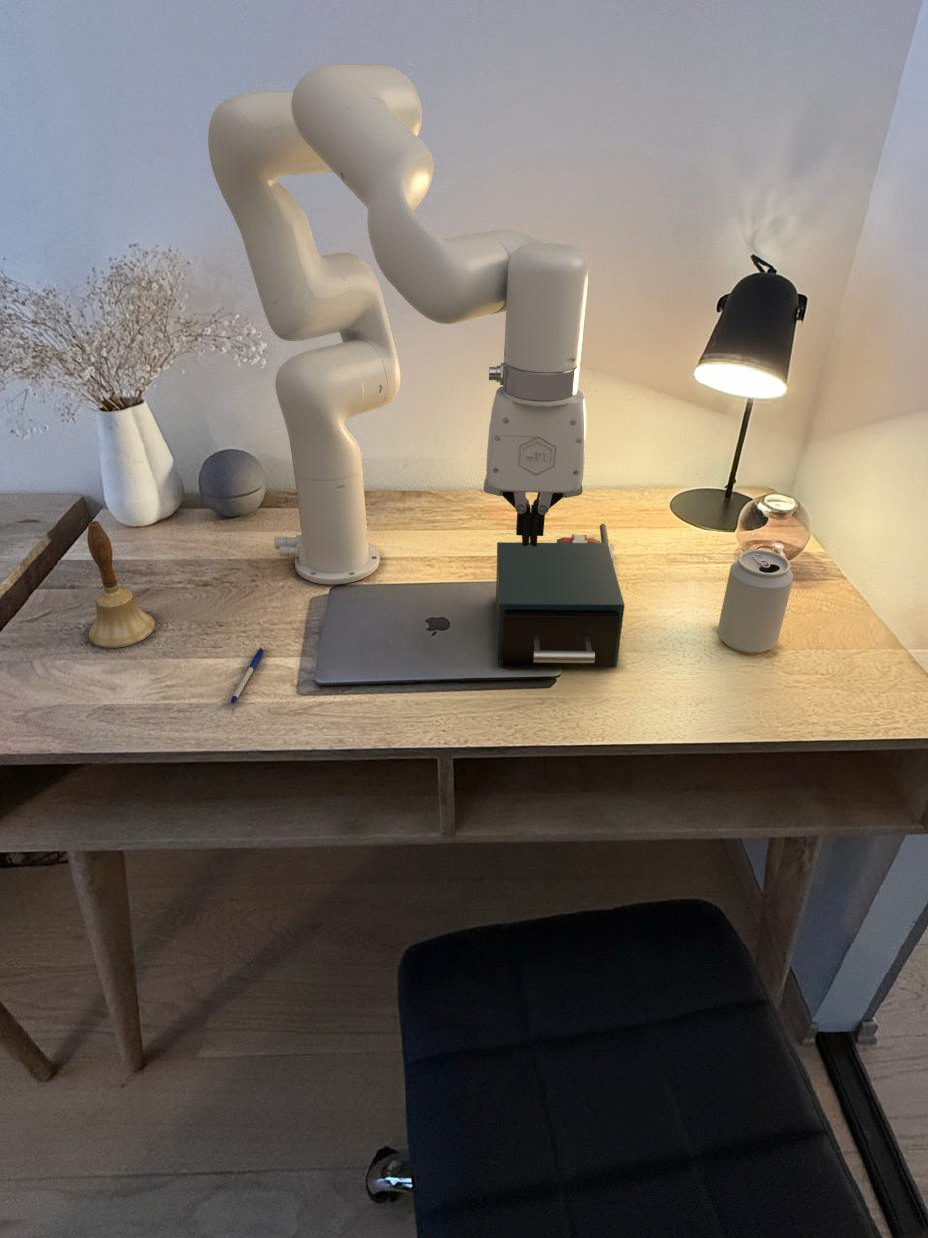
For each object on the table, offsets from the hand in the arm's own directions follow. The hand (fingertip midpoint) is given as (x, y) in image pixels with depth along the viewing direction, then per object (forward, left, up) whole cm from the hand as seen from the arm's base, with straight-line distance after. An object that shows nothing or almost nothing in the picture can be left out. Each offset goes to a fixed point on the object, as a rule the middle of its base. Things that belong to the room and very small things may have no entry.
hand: (529, 540), depth 93 cm
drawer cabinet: (+4, +7, -18) cm, 20 cm away
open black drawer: (+4, +3, -17) cm, 18 cm away
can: (+29, +6, -18) cm, 35 cm away
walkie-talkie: (+10, +26, -18) cm, 33 cm away
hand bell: (-53, +7, -18) cm, 56 cm away
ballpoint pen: (-34, -3, -18) cm, 38 cm away
